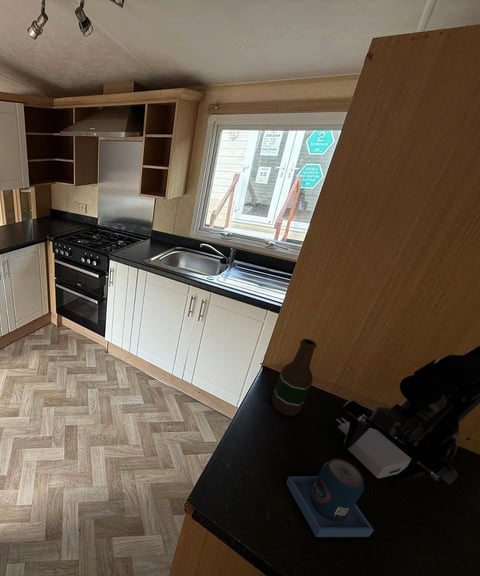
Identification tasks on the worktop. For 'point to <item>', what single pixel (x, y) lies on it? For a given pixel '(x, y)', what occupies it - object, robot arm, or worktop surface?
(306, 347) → the beer bottle
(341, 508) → the soda can
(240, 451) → the worktop surface
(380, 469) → the charger
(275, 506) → the worktop surface
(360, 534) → the blue tray
